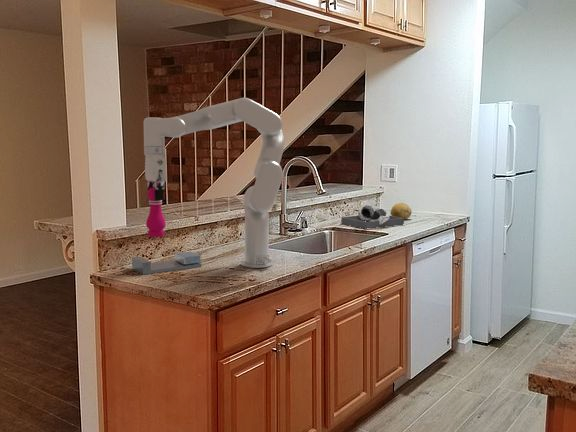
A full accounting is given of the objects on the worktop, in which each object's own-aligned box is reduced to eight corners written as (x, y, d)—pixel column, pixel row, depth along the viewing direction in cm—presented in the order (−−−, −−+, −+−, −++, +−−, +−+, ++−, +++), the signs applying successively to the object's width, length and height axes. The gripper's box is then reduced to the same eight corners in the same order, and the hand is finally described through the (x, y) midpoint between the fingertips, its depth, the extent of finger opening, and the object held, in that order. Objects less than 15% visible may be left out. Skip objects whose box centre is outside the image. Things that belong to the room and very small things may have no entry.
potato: (395, 217, 369) (395, 201, 367) (413, 219, 361) (414, 203, 359) (387, 219, 361) (387, 202, 359) (405, 221, 353) (406, 204, 351)
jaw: (200, 262, 232) (200, 255, 232) (184, 264, 228) (184, 257, 228) (190, 258, 239) (190, 251, 239) (174, 260, 235) (174, 253, 235)
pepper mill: (157, 233, 230) (156, 181, 227) (169, 235, 225) (168, 183, 222) (142, 235, 224) (141, 182, 221) (154, 237, 220) (153, 184, 217)
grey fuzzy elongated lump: (353, 220, 347) (353, 204, 345) (367, 219, 351) (368, 203, 350) (377, 228, 325) (378, 210, 323) (392, 227, 329) (393, 209, 327)
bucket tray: (403, 225, 339) (404, 218, 338) (366, 229, 322) (366, 222, 322) (377, 220, 356) (378, 213, 355) (341, 224, 339) (341, 217, 339)
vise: (201, 266, 232) (201, 255, 231) (143, 274, 218) (142, 263, 217) (189, 261, 241) (189, 250, 240) (132, 268, 227) (131, 257, 226)
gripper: (173, 151, 215) (174, 201, 218) (154, 150, 229) (155, 196, 232) (154, 152, 211) (155, 202, 214) (136, 150, 225) (137, 197, 227)
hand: (155, 198), depth 223 cm, fingers closed on pepper mill, 6 cm apart
